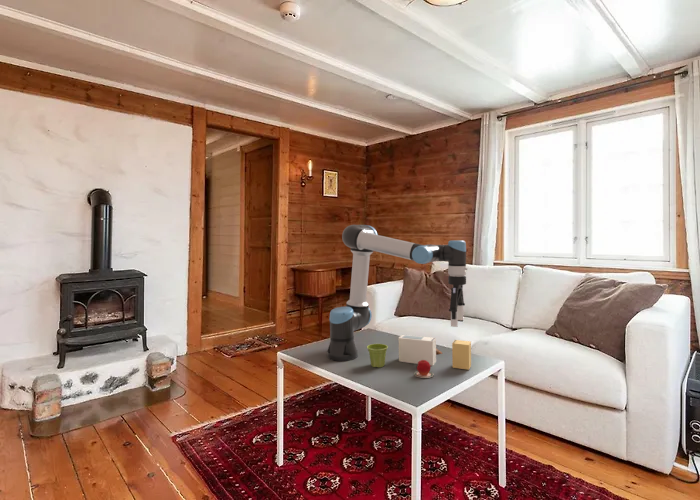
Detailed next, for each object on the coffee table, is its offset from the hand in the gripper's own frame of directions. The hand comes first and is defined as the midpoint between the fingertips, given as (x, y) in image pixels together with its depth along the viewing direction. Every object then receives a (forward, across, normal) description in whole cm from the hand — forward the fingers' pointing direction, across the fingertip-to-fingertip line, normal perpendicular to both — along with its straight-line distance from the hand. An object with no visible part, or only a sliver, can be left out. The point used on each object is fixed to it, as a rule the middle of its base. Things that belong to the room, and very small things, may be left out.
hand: (457, 323), depth 166 cm
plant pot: (+20, -13, +33) cm, 40 cm away
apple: (+20, -16, +11) cm, 28 cm away
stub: (+19, -1, -2) cm, 19 cm away
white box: (+19, -1, +18) cm, 26 cm away
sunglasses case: (+20, +18, +18) cm, 33 cm away
